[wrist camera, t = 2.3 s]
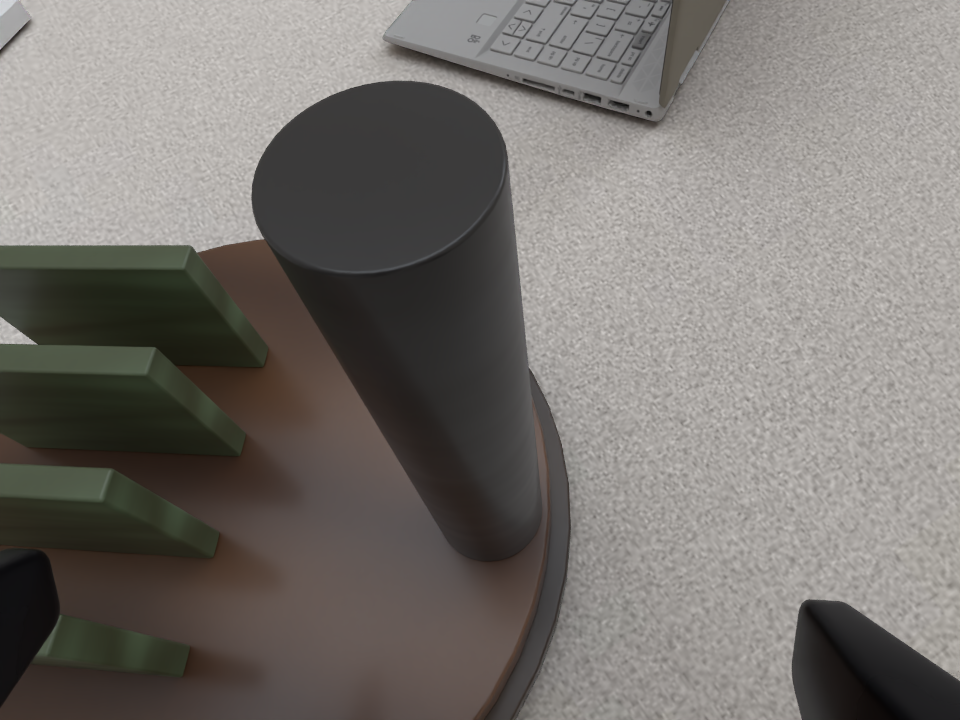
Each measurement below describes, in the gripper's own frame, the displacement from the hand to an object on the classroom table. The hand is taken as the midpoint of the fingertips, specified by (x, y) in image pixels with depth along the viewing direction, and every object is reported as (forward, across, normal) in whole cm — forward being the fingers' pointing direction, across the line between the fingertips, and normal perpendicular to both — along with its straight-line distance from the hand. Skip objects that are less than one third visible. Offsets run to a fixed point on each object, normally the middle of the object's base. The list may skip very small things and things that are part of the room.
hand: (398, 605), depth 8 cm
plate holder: (+9, +7, +4) cm, 12 cm away
